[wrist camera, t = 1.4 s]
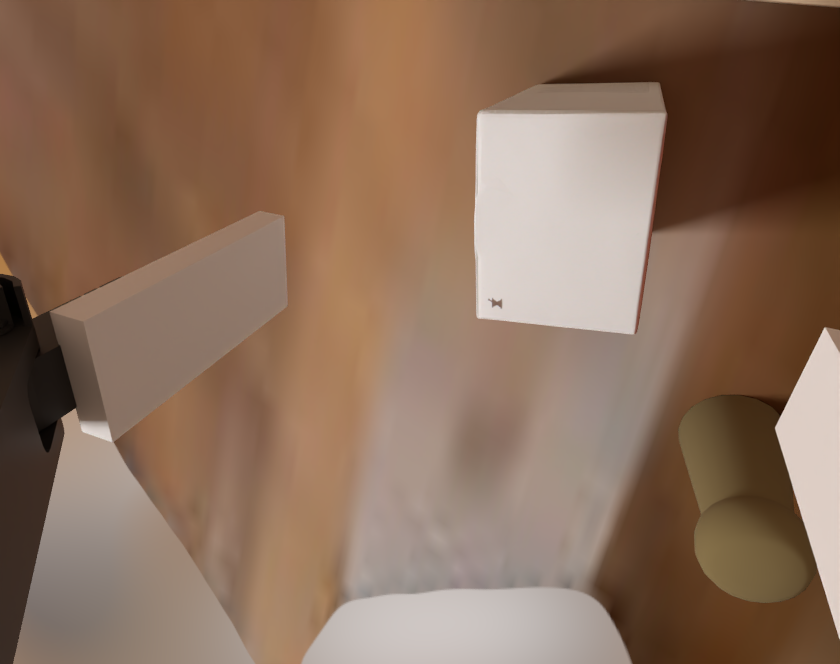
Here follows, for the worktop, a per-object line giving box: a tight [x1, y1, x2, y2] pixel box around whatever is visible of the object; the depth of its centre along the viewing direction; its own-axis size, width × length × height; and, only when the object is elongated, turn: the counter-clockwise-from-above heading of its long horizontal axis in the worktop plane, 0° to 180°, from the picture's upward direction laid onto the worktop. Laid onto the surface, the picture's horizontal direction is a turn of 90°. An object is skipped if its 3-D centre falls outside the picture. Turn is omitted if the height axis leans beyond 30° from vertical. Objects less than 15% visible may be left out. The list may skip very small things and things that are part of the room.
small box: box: [474, 82, 668, 334], centre depth 26 cm, size 8×6×13 cm
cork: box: [678, 395, 817, 603], centre depth 31 cm, size 6×6×11 cm
